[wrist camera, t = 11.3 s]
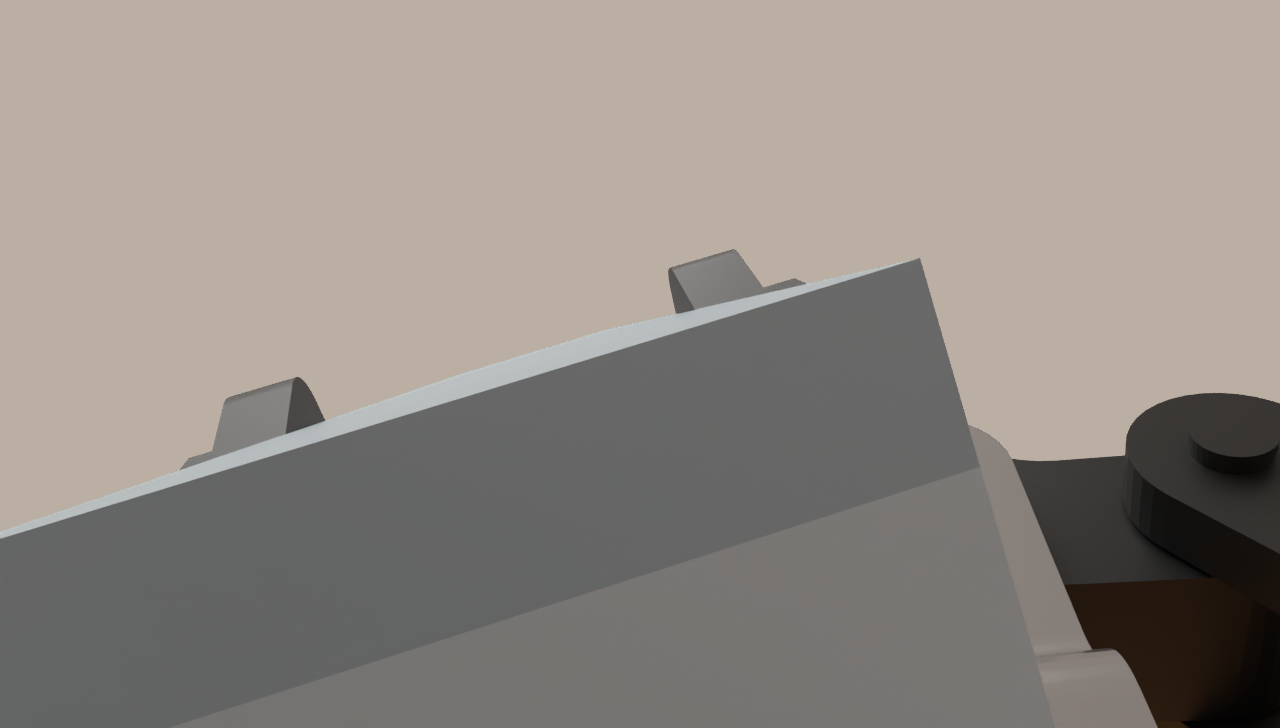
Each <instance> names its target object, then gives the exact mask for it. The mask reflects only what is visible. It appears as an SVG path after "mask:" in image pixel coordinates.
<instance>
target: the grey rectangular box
mask: <svg viewBox="0 0 1280 728" xmlns="http://www.w3.org/2000/svg"><path fill="white" fill-rule="evenodd" d="M0 728H1055V724H1054V721H1053V718H1052V714H1051V711H1050V707H1049V704H1048V700H1047V697H1046V693H1045V690H1044V686H1043V683H1042V679H1041V676H1040V672H1039V669H1038V666H1037V662H1036V659H1035V655H1034V652H1033V648H1032V645H1031V641H1030V638H1029V634H1028V631H1027V627H1026V624H1025V621H1024V617H1023V614H1022V610H1021V607H1020V603H1019V600H1018V596H1017V593H1016V589H1015V586H1014V582H1013V579H1012V575H1011V572H1010V569H1009V565H1008V562H1007V558H1006V555H1005V551H1004V548H1003V544H1002V541H1001V537H1000V534H999V530H998V527H997V524H996V520H995V517H994V513H993V510H992V506H991V503H990V499H989V496H988V492H987V489H986V485H985V482H984V479H983V475H982V472H981V468H980V465H979V461H978V458H977V454H976V451H975V447H974V444H973V440H972V437H971V433H970V430H969V427H968V423H967V420H966V416H965V413H964V409H963V406H962V402H961V399H960V395H959V392H958V388H957V385H956V382H955V378H954V375H953V371H952V368H951V364H950V361H949V357H948V354H947V350H946V347H945V343H944V340H943V337H942V333H941V330H940V326H939V323H938V319H937V316H936V312H935V309H934V306H933V302H932V298H931V295H930V292H929V288H928V285H927V281H926V278H925V274H924V271H923V267H922V264H921V260H920V258H919V259H915V260H910V261H905V262H901V263H897V264H892V265H888V266H884V267H879V268H875V269H870V270H866V271H861V272H857V273H853V274H848V275H844V276H840V277H835V278H831V279H826V280H822V281H818V282H813V283H809V284H804V285H800V286H796V287H791V288H787V289H783V290H778V291H774V292H769V293H765V294H761V295H756V296H752V297H748V298H743V299H739V300H734V301H730V302H726V303H721V304H717V305H712V306H708V307H704V308H700V309H696V310H692V311H688V312H683V313H679V314H673V315H669V316H664V317H660V318H656V319H651V320H647V321H642V322H638V323H634V324H629V325H625V326H620V327H616V328H612V329H607V330H604V331H601V332H597V333H594V334H591V335H587V336H584V337H581V338H578V339H574V340H571V341H568V342H564V343H561V344H558V345H555V346H551V347H548V348H545V349H542V350H538V351H535V352H531V353H528V354H525V355H522V356H518V357H515V358H512V359H508V360H505V361H502V362H498V363H495V364H492V365H489V366H485V367H482V368H479V369H475V370H472V371H469V372H465V373H462V374H460V375H457V376H454V377H451V378H448V379H445V380H442V381H439V382H436V383H433V384H430V385H427V386H425V387H422V388H419V389H416V390H413V391H410V392H407V393H404V394H401V395H398V396H395V397H392V398H389V399H387V400H384V401H381V402H378V403H375V404H372V405H369V406H366V407H363V408H360V409H357V410H355V411H352V412H349V413H346V414H343V415H340V416H337V417H334V418H331V419H328V420H325V421H323V422H320V423H317V424H314V425H311V426H308V427H305V428H303V429H300V430H297V431H294V432H291V433H288V434H285V435H282V436H279V437H276V438H273V439H270V440H267V441H264V442H261V443H258V444H255V445H252V446H249V447H246V448H243V449H240V450H238V451H235V452H232V453H229V454H226V455H223V456H220V457H217V458H214V459H211V460H208V461H205V462H202V463H200V464H197V465H194V466H191V467H188V468H185V469H182V470H179V471H176V472H174V473H170V474H168V475H164V476H162V477H159V478H156V479H153V480H150V481H147V482H144V483H141V484H138V485H135V486H133V487H129V488H127V489H124V490H121V491H118V492H115V493H112V494H109V495H106V496H103V497H100V498H97V499H95V500H92V501H89V502H86V503H83V504H80V505H77V506H74V507H71V508H68V509H65V510H62V511H60V512H57V513H53V514H51V515H48V516H45V517H42V518H39V519H36V520H33V521H30V522H28V523H24V524H21V525H18V526H16V527H13V528H10V529H7V530H4V531H1V532H0Z"/></svg>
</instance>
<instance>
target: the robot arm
mask: <svg viewBox="0 0 1280 728" xmlns="http://www.w3.org/2000/svg"><path fill="white" fill-rule="evenodd" d="M668 274H669V282H670V288H671V293H672V298H673V302H674V307H675V311H676V314H679V313H683V312H688V311H692V310H696V309H700V308H704V307H708V306H712V305H717V304H721V303H726V302H730V301H734V300H739V299H743V298H748V297H752V296H756V295H761V294H765V293H769V292H774V291H778V290H783V289H787V288H791V287H796V286H800V285H804V284H806V283H804V282H801V281H799V280H797V279H791V280H787V281H784V282H781V283H777V284H774V285H771V286H767V287H764V288H763V287H762V285H761V284H760V282H759V281H758V280H757V278H756V277H755V276H754V274H753V273H752V271H751V270H750V269H749V267H748V266H747V264H746V263H745V262H744V260H743V259H742V257H741V256H740V255H739V253H738V252H737V251H736V250H733V249H732V250H729V251H726V252H722V253H719V254H716V255H712V256H709V257H705V258H703V259H699V260H695V261H692V262H688V263H685V264H682V265H678V266H675V267H671V268H669V271H668ZM323 421H325V419H324V417H323V415H322V413H321V411H320V409H319V406H318V405H317V402H316V400H315V398H314V396H313V394H312V392H311V391H310V389H309V387H308V386H307V384H306V383H305V382H304V381H303V380H302V379H301V378H299V377H296V378H292V379H289V380H286V381H282V382H279V383H275V384H272V385H269V386H265V387H262V388H258V389H256V390H252V391H249V392H245V393H242V394H238V395H235V396H232V397H229V398H227V399H226V400H225V402H224V405H223V409H222V413H221V417H220V421H219V425H218V429H217V433H216V438H215V442H214V445H213V450H212V451H211V452H208V453H205V454H202V455H198V456H195V457H192V458H189V459H188V460H187V461H186V463H185V464H184V465H183V467H182V468H181V469H180V470H182V469H185V468H188V467H191V466H194V465H197V464H200V463H202V462H205V461H208V460H211V459H214V458H217V457H220V456H223V455H226V454H229V453H232V452H235V451H238V450H240V449H243V448H246V447H249V446H252V445H255V444H258V443H261V442H264V441H267V440H270V439H273V438H276V437H279V436H282V435H285V434H288V433H291V432H294V431H297V430H300V429H303V428H305V427H308V426H311V425H314V424H317V423H320V422H323ZM968 427H969V430H970V433H971V437H972V440H973V444H974V447H975V451H976V454H977V458H978V461H979V465H980V468H981V472H982V475H983V479H984V482H985V485H986V489H987V492H988V496H989V499H990V503H991V506H992V510H993V513H994V517H995V520H996V524H997V527H998V530H999V534H1000V537H1001V541H1002V544H1003V548H1004V551H1005V555H1006V558H1007V562H1008V565H1009V569H1010V572H1011V575H1012V579H1013V582H1014V586H1015V589H1016V593H1017V596H1018V600H1019V603H1020V607H1021V610H1022V614H1023V617H1024V621H1025V624H1026V627H1027V631H1028V634H1029V638H1030V641H1031V645H1032V648H1033V652H1034V655H1035V659H1036V662H1037V666H1038V669H1039V672H1040V676H1041V679H1042V683H1043V686H1044V690H1045V693H1046V697H1047V700H1048V704H1049V707H1050V711H1051V714H1052V718H1053V721H1054V724H1055V728H1280V404H1279V403H1276V402H1273V401H1269V400H1265V399H1261V398H1257V397H1252V396H1245V395H1239V394H1226V393H1205V394H1204V393H1203V394H1195V395H1187V396H1182V397H1178V398H1174V399H1170V400H1167V401H1165V402H1162V403H1159V404H1157V405H1155V406H1153V407H1151V408H1150V409H1148V410H1146V411H1145V412H1144V413H1142V414H1141V415H1140V416H1139V417H1137V419H1136V420H1135V421H1134V422H1133V424H1132V425H1131V426H1130V429H1129V431H1128V434H1127V438H1126V453H1125V456H1113V457H1100V458H1086V459H1073V460H1059V461H1026V460H1016V459H1011V457H1010V456H1009V454H1008V452H1007V450H1006V449H1005V448H1004V447H1003V446H1002V445H1001V444H1000V443H999V442H998V441H997V440H995V439H994V438H993V437H991V436H990V435H989V434H987V433H985V432H983V431H981V430H980V429H978V428H975V427H972V426H970V425H968Z"/></svg>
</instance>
